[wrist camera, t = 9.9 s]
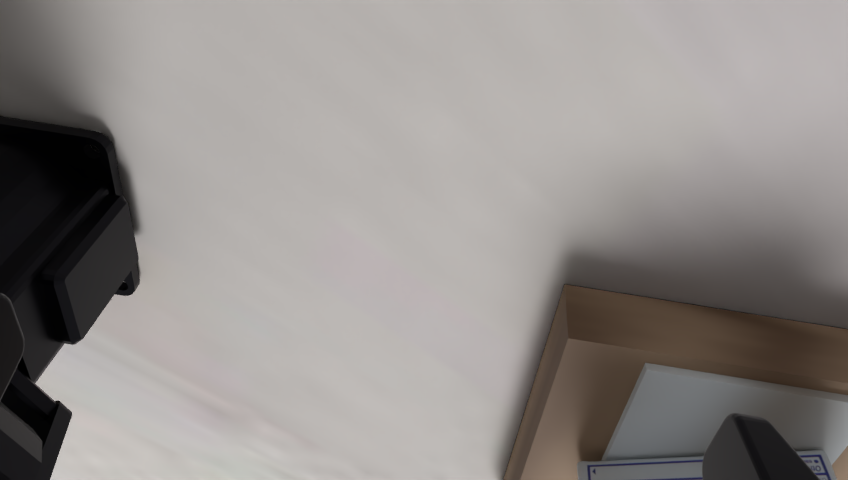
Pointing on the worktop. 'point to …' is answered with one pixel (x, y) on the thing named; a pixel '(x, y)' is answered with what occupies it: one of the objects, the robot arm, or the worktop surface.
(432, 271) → the worktop surface
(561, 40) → the worktop surface
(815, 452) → the medicine box
